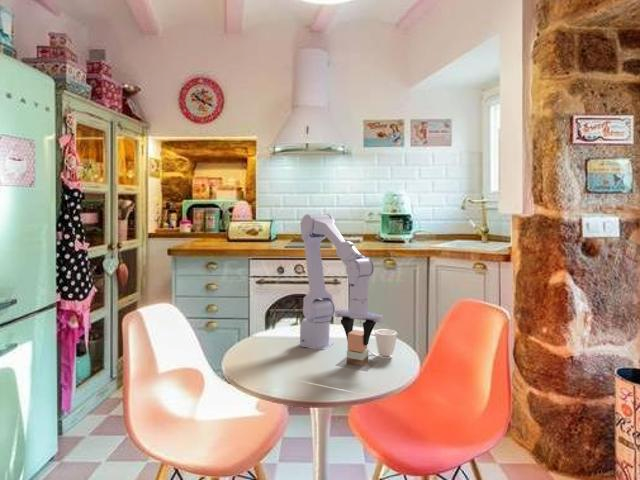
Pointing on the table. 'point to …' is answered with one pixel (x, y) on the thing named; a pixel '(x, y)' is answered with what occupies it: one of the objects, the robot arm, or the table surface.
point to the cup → (384, 342)
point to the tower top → (357, 354)
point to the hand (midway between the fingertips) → (357, 343)
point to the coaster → (364, 368)
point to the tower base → (357, 362)
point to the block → (356, 341)
